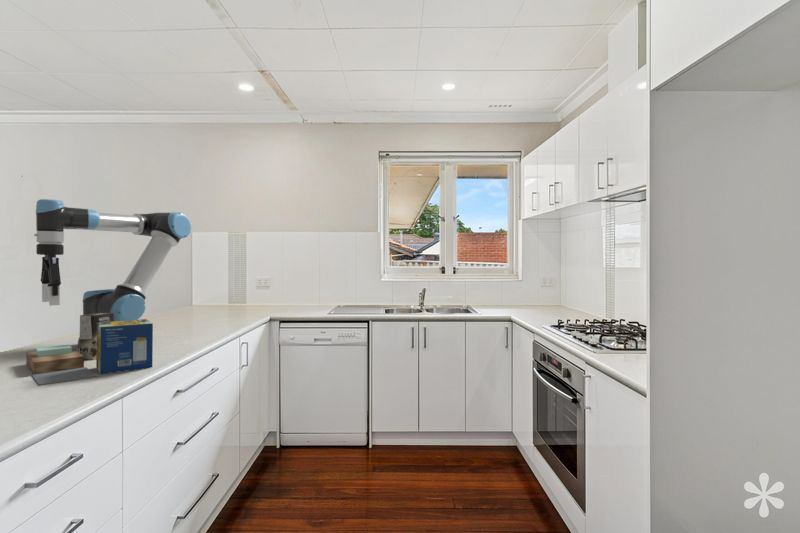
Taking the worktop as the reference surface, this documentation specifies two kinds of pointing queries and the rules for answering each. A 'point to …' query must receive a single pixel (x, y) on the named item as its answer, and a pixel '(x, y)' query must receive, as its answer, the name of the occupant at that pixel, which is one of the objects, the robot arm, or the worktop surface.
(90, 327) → the coffee box
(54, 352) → the mint green rectangular slab
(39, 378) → the mat
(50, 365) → the brown wooden block
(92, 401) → the worktop surface
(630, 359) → the worktop surface
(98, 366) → the protein box
